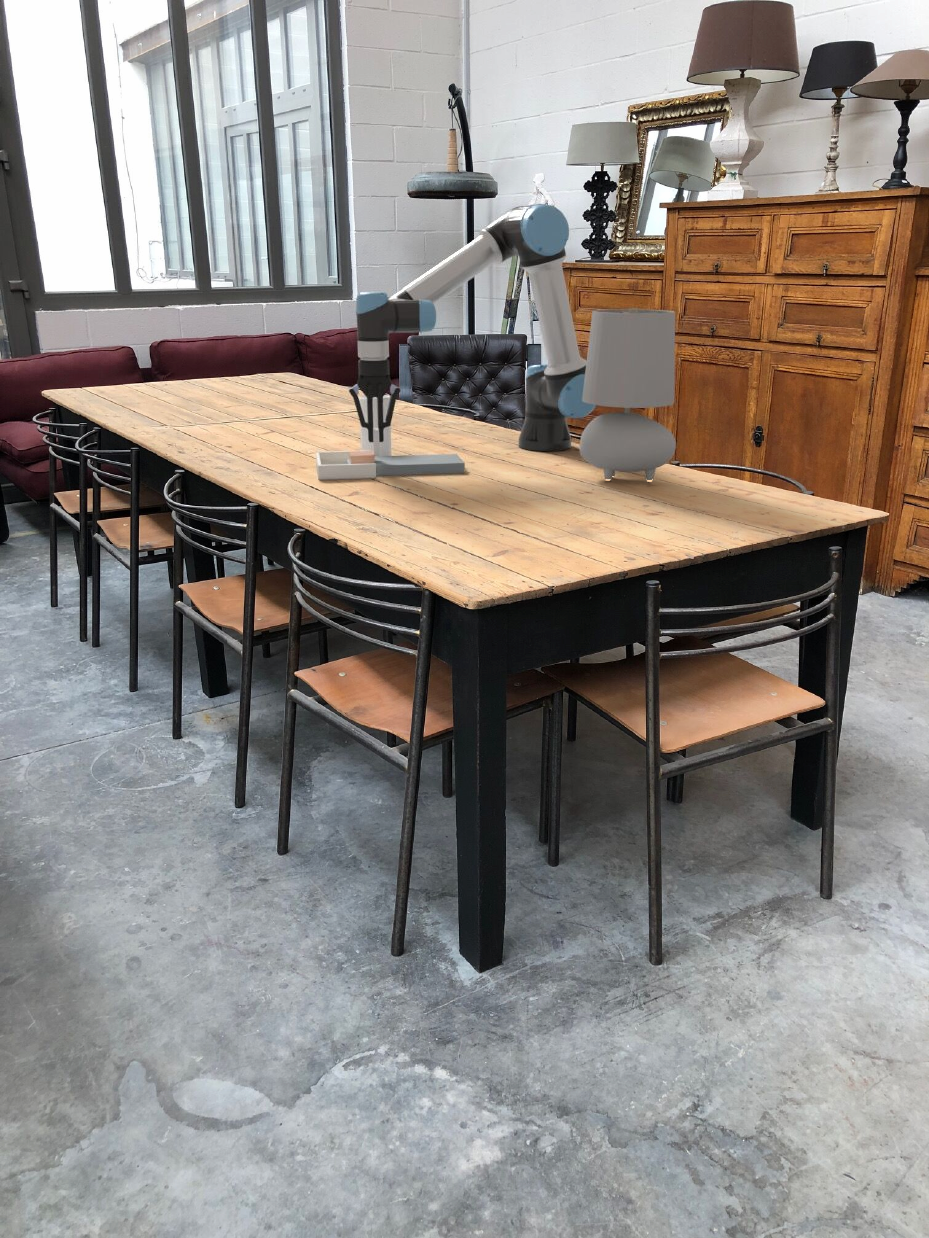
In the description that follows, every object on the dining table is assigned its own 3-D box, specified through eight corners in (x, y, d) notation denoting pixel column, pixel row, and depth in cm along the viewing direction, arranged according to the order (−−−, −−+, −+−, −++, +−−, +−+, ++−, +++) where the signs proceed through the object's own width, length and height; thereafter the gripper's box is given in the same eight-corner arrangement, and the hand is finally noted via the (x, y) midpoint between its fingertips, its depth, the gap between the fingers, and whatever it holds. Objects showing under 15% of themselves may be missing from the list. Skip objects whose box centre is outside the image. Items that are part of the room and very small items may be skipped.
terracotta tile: (372, 458, 246) (372, 450, 246) (374, 463, 241) (374, 455, 240) (349, 459, 245) (348, 451, 245) (350, 463, 240) (350, 455, 239)
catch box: (370, 463, 253) (369, 450, 251) (376, 478, 236) (375, 464, 235) (316, 465, 250) (315, 451, 249) (318, 480, 234) (317, 465, 233)
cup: (386, 459, 258) (385, 399, 252) (357, 458, 259) (355, 398, 254) (394, 454, 265) (393, 395, 260) (366, 452, 267) (364, 394, 261)
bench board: (456, 463, 254) (456, 454, 253) (464, 472, 243) (464, 463, 242) (373, 465, 250) (372, 456, 249) (377, 475, 239) (377, 465, 238)
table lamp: (678, 475, 241) (692, 307, 227) (666, 494, 222) (680, 312, 208) (587, 469, 248) (596, 305, 234) (568, 486, 229) (576, 309, 215)
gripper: (398, 356, 239) (400, 451, 248) (345, 357, 237) (349, 453, 245) (401, 359, 232) (403, 457, 241) (347, 360, 230) (351, 458, 239)
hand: (376, 455), depth 243 cm, fingers closed
